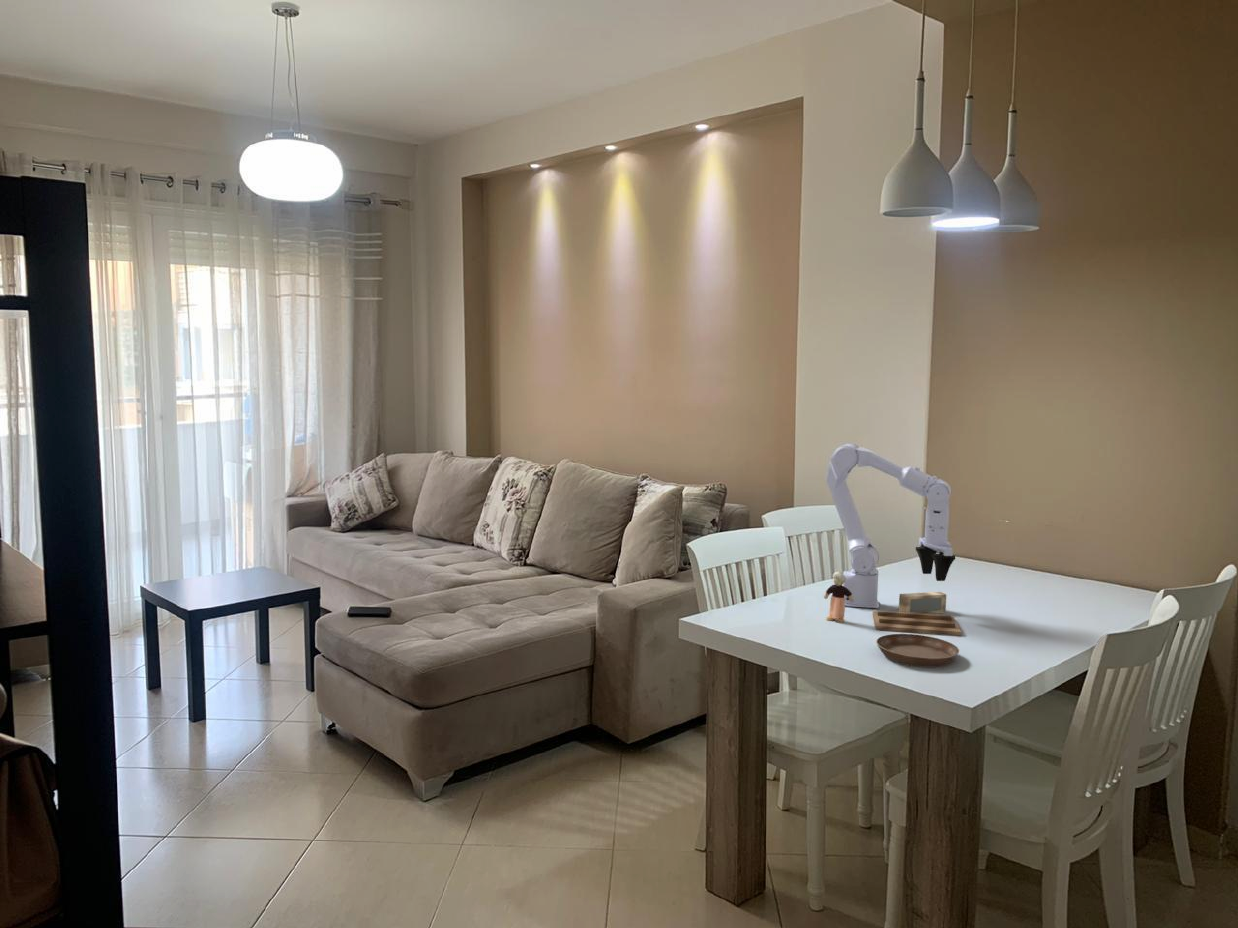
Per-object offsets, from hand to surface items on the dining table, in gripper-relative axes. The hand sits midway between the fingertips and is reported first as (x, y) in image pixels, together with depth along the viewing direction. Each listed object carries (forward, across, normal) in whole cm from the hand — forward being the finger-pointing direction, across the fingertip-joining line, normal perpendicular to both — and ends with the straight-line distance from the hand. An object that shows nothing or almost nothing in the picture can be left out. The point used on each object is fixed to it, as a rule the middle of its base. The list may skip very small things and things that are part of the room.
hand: (933, 577), depth 240 cm
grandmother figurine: (+10, -5, +28) cm, 30 cm away
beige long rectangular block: (+10, 0, +3) cm, 10 cm away
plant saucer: (+10, -35, +21) cm, 42 cm away
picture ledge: (+9, -11, +10) cm, 18 cm away
